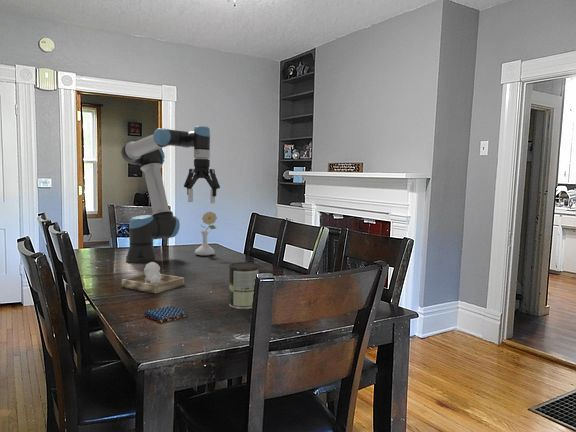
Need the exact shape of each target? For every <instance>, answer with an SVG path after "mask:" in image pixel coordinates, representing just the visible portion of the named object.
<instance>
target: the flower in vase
mask: <svg viewBox="0 0 576 432" xmlns="http://www.w3.org/2000/svg"><path fill="white" fill-rule="evenodd" d="M217 219H218V216H217V215H216V213H215V212H213V211H207V212H204V214H203V215H202V217H201V220H202V223H204V224H205V225H208V227H205V226H203V225H201V227H203V229H206V230H200V233H201V234H202V243H201V245H200V246H199V247H197V248H196V249H195V250H194V254H195V255H198V256H202V257H203V256H205V257H206V256H211V255H214V254H215V253H216V251H215V249H214V248H212V247H211V246H210V245H209V244H208V235H209V232H210V230H215V229H217V227H216V226H215V225H214V223H216V221H217ZM208 229H210V230H208Z"/></svg>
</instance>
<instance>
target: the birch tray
mask: <svg viewBox="0 0 576 432" xmlns="http://www.w3.org/2000/svg"><path fill="white" fill-rule="evenodd" d="M145 277H146V276H145V274H140V275H139V274H138V275H136V276H131V277H127V278H122V279H121V288H124V287H125V288H124V289H129V288H130V290H136V291H139V292H140V291H141V292H145V293H146V292H147V293H152V294H159V293H162V292H165V291H169V290H172V289H176V288H178V287H181V286H185V277H182V276H176V275H170V274H163V273H161V279H160V284H157V285H154V284H151V282H149V283H145Z"/></svg>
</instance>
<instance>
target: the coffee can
mask: <svg viewBox="0 0 576 432" xmlns="http://www.w3.org/2000/svg"><path fill="white" fill-rule="evenodd" d="M259 268H260V265H259V264H258V263H256V262H251V261H250V262H248V261H247V262H246V261H244V262H243V261H242V262H241V261H239V262H233V263H230V264H229V278H228V279H229V287H228V288H229V289H228V294H229V296H228V297H229V299H228V301H229V302H228V306H229V307H231V308H233V309H236V310H237V309H238V310H239V309H240V310H249V309H253V308H252V302H253V294H254V285H255V279H256V275H257V274H259V273H260V272H259V270H260V269H259Z"/></svg>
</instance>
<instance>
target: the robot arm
mask: <svg viewBox="0 0 576 432" xmlns="http://www.w3.org/2000/svg"><path fill="white" fill-rule="evenodd" d="M169 146H173V147H182V148H187V149H188V148H193V158H194V160H193V167H194V168H189V170H188V174H187V176H186V179H185V182H184V184H183V187H184V188H186V194H187V200H188V201H187V202H188V203H193V202H194V189H193V187H194V186H195V184H196V182H197V181H198V180H199V179H205V181H206V182H207V184H208V185H209V188H210V193H209V194H210V197H209V199H210V201H209V202H210V204H216V197H217V190H218V189H221V186H220V183H219V181H218V178H217V175H216V170H215V168H214V169H213V168H210V166H211V164H210V162H211V160H210V158H211V150H210V149H211V130H210V127H208V126H201V125H197V126H194V128H193V131H184V130H176V129H168V128H156V129H155V131H154V133H153V134H151V135H148V136H146V137H143V138H141V139H138V140H136V141H134V140H133V141H129V142H127V143H124V144H123V146H122V147H121V150H120V154H121V157H122V159H123V161H124V162H126V163H128V164H129V165H136V166H139V167H140V171H142V172H144V177H145V182H146V187H147V191H148V196H149V201H150V205H151V209H152V210H151V211H152V213H151V214H145V215H143V214H142V215H136V216H133V217H131V218H130V219H129V223H128V224H129V226H128V228H129V229H128V230H129V232H128V233H129V247H128V251H127V253H126V254H127V255H126V256H125V262H127V263H131V264H148V263H150V262H156V261H158V260H157V254H156V251H155V247H154V240H162V239H171V238H175V237H176V236H177V235H178V234H179V231H180V226H181V224H180V220H179V218H178V217H177V216H175V215H174V214H173V211H172V210H170V209H169V205H168V204H169V203H168V200H167V194H166V190H165V186H164V182H163V178H162V172H161V169H162V167H163V164H164V163H165V152H164V150H163V148H165V147H169Z"/></svg>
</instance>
